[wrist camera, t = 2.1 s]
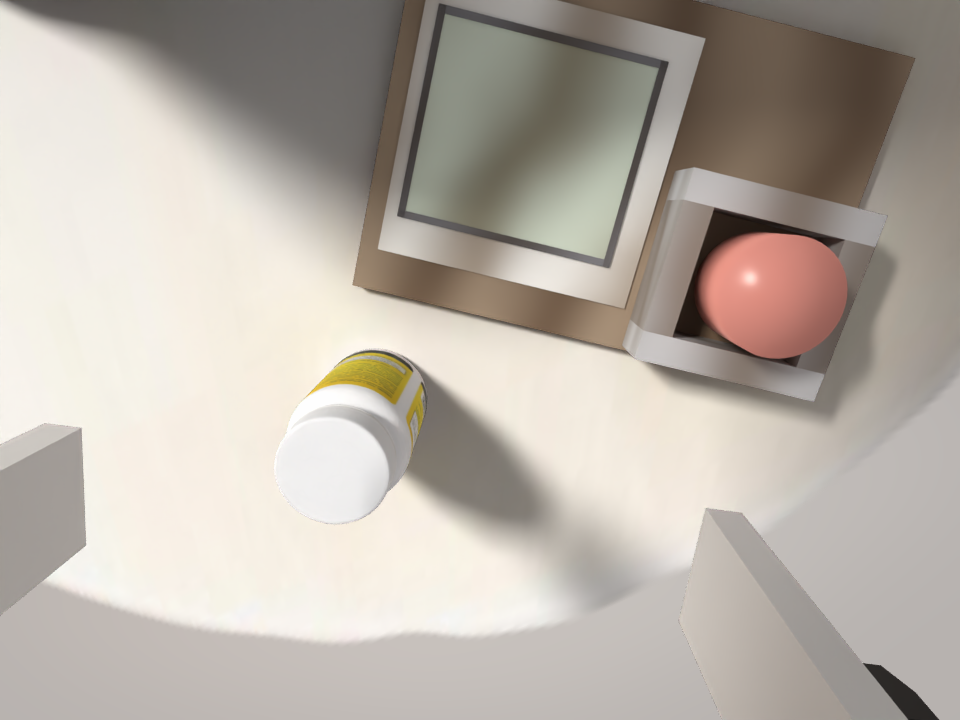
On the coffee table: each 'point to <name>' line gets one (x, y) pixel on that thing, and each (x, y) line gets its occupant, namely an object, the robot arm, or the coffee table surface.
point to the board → (619, 167)
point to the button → (771, 292)
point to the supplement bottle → (352, 437)
